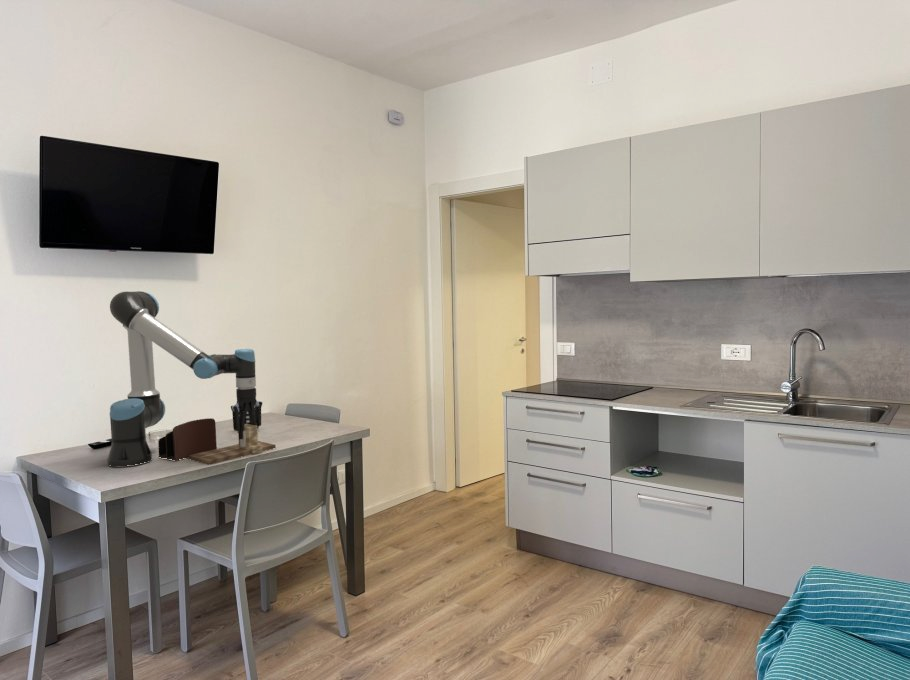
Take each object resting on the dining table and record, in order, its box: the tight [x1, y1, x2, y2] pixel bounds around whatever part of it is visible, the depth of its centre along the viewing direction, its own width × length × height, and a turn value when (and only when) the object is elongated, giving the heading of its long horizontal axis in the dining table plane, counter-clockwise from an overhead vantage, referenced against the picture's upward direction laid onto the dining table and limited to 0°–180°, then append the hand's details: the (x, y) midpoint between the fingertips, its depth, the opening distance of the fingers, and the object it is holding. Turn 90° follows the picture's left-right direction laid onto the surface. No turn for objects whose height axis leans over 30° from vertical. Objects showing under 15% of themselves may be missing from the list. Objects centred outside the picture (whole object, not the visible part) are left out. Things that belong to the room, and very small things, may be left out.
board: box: [188, 440, 277, 465], centre depth 256 cm, size 30×14×2 cm, turn 143°
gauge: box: [233, 424, 263, 455], centre depth 260 cm, size 4×15×10 cm, turn 53°
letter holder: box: [158, 417, 218, 461], centre depth 257 cm, size 10×20×14 cm, turn 151°
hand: (248, 445), depth 259 cm, fingers closed on gauge, 4 cm apart
